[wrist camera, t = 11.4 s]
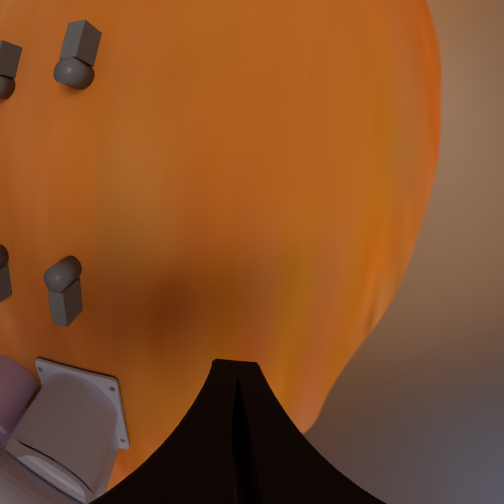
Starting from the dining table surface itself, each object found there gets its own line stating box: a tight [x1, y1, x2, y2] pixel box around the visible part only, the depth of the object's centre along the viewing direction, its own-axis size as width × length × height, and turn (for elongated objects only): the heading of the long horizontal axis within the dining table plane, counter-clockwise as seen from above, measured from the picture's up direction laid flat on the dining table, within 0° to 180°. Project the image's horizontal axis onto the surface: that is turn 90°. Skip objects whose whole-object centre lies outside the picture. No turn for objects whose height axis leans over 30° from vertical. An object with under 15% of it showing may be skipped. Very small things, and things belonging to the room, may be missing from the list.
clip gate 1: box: [44, 20, 101, 327], centre depth 16 cm, size 19×2×2 cm, turn 172°
